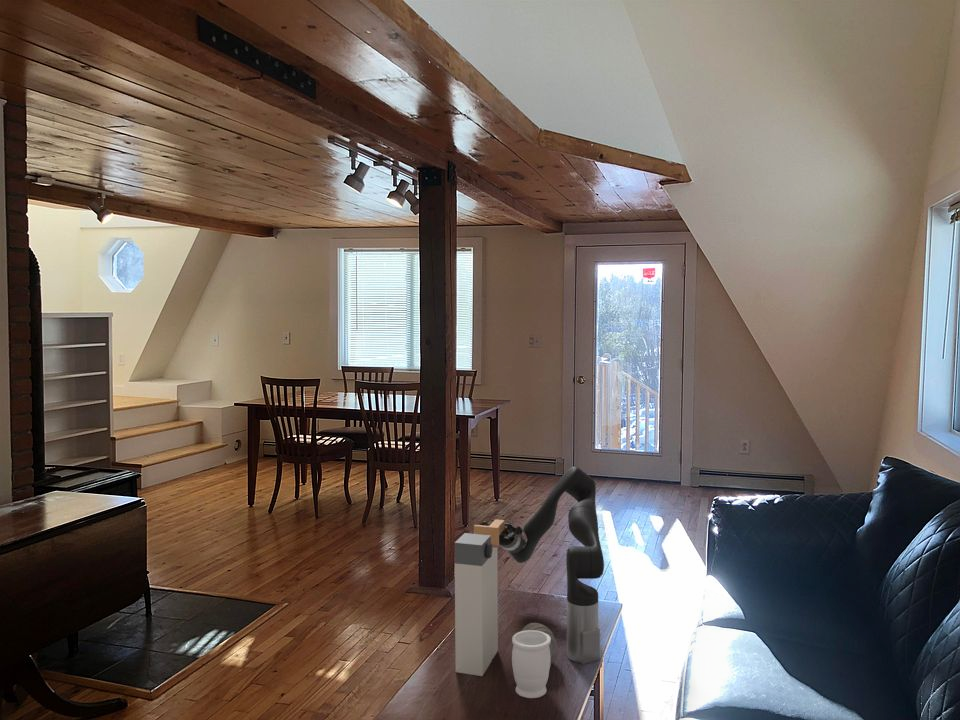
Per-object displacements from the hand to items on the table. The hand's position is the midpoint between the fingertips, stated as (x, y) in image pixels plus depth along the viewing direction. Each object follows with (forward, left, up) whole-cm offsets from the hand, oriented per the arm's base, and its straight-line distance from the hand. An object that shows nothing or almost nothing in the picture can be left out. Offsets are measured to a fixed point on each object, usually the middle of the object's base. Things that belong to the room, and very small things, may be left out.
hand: (495, 525), depth 244 cm
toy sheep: (-23, -1, -35) cm, 42 cm away
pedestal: (-14, +14, -35) cm, 40 cm away
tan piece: (-2, +2, -3) cm, 4 cm away
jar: (-36, +9, -35) cm, 51 cm away
